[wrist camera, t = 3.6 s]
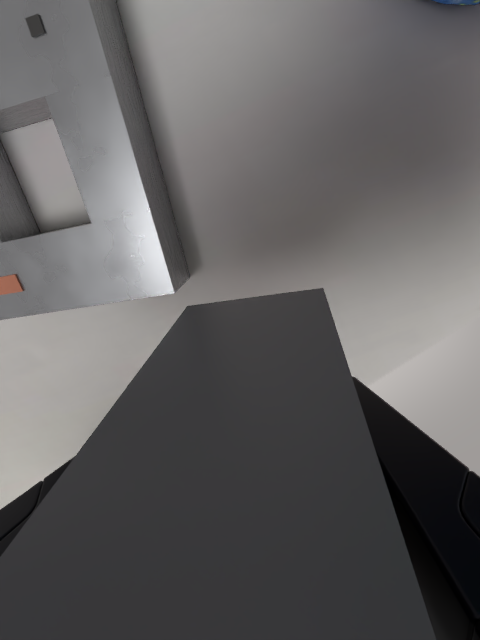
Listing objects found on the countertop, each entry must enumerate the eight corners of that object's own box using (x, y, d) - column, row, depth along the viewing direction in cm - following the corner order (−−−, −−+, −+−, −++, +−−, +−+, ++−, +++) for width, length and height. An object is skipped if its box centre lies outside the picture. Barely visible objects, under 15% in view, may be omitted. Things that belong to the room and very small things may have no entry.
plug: (333, 403, 10) (516, 1292, 2) (216, 410, 11) (16, 1085, 3) (323, 287, 9) (836, 1897, 1) (187, 306, 10) (-409, 1106, 1)
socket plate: (189, 276, 20) (174, 293, 17) (27, 303, 22) (-10, 321, 19) (110, -19, 14) (68, -65, 12) (-93, 57, 17) (-169, 35, 14)
